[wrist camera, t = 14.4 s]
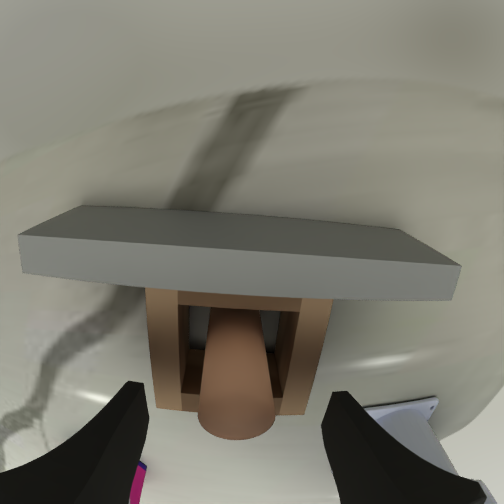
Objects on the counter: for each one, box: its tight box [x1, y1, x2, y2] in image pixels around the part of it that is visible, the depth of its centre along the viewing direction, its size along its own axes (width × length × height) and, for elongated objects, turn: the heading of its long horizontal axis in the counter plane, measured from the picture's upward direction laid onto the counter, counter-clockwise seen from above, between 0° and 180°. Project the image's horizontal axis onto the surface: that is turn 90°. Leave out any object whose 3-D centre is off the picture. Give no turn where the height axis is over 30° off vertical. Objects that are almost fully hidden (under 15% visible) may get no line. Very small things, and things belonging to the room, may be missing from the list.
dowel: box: [198, 307, 275, 440], centre depth 14 cm, size 3×3×8 cm
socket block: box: [145, 287, 333, 415], centre depth 16 cm, size 8×8×4 cm
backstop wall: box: [18, 206, 462, 301], centre depth 13 cm, size 2×18×6 cm, turn 85°
